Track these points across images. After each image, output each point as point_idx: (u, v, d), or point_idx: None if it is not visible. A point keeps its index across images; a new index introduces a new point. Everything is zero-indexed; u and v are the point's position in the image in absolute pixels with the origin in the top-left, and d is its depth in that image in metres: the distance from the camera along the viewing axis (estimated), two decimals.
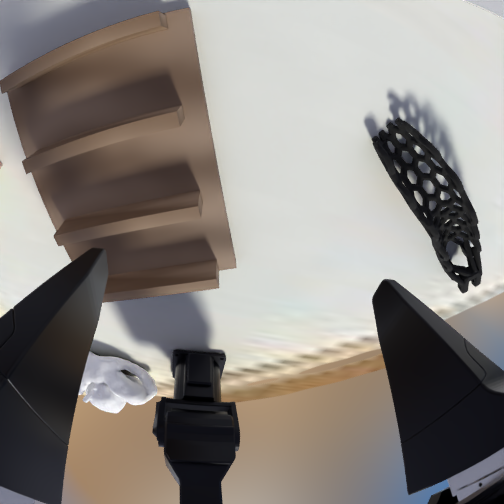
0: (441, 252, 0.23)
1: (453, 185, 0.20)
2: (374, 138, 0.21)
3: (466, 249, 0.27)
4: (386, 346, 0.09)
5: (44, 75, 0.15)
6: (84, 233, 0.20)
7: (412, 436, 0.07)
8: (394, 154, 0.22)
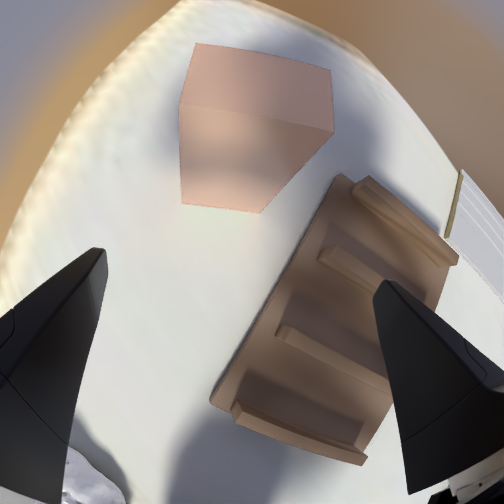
0: None
1: None
2: None
3: None
4: (386, 346, 0.09)
5: (370, 211, 0.25)
6: (325, 352, 0.20)
7: (412, 436, 0.07)
8: None
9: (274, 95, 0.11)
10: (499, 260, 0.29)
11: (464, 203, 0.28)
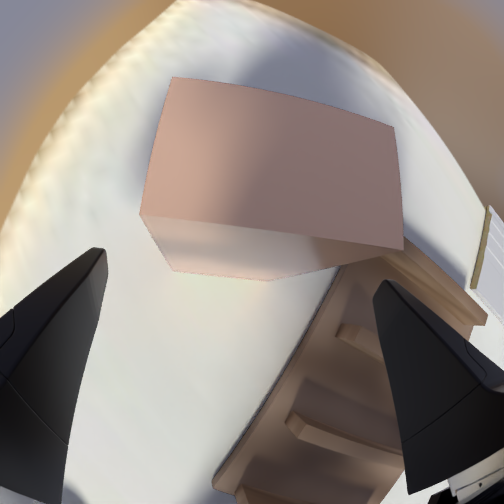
0: None
1: None
2: None
3: None
4: (386, 346, 0.09)
5: (398, 271, 0.20)
6: (340, 443, 0.15)
7: (412, 436, 0.07)
8: None
9: (312, 185, 0.06)
10: None
11: (492, 246, 0.24)
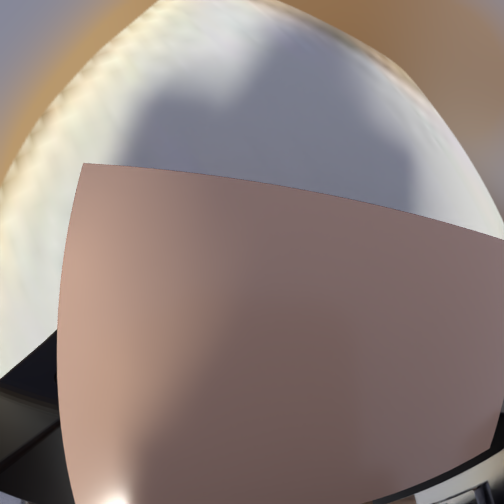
0: None
1: None
2: None
3: None
4: None
5: None
6: None
7: None
8: None
9: (400, 423, 0.03)
10: None
11: None
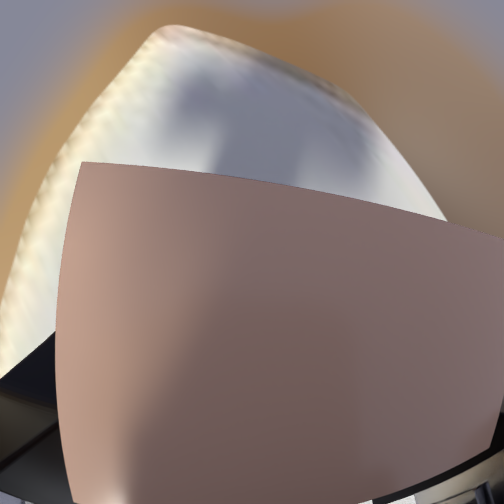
0: None
1: None
2: None
3: None
4: None
5: None
6: None
7: None
8: None
9: (400, 421, 0.03)
10: None
11: None
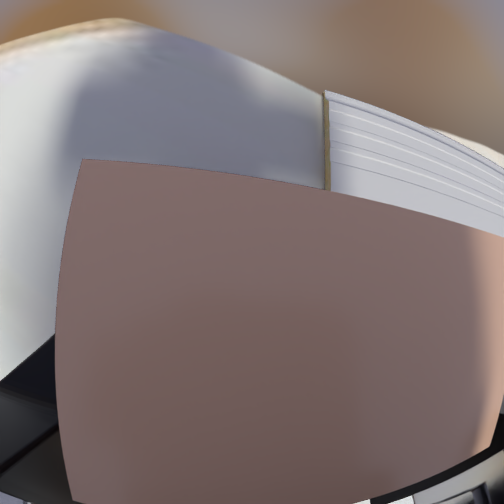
0: None
1: None
2: None
3: None
4: None
5: None
6: None
7: None
8: None
9: (400, 419, 0.03)
10: (440, 193, 0.21)
11: (344, 142, 0.20)
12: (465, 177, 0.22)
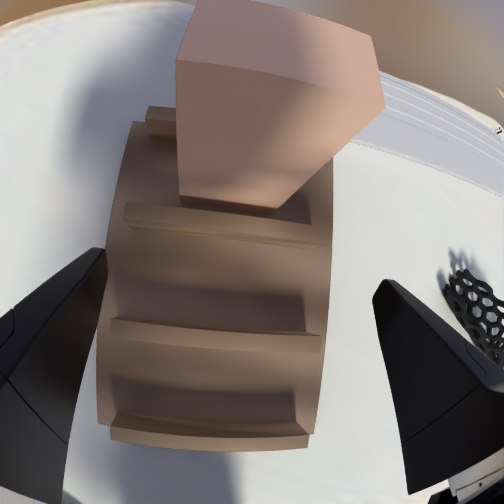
0: None
1: (502, 315, 0.21)
2: (444, 289, 0.23)
3: None
4: (386, 346, 0.09)
5: None
6: (163, 332, 0.15)
7: (412, 436, 0.07)
8: (457, 304, 0.23)
9: (306, 55, 0.07)
10: (411, 124, 0.25)
11: None
12: (435, 117, 0.26)
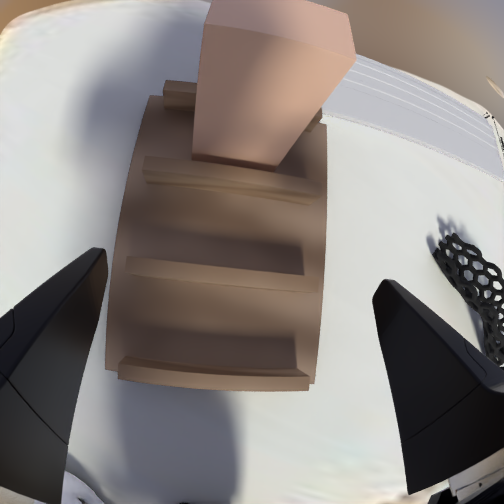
0: (499, 335, 0.21)
1: (493, 278, 0.23)
2: (435, 252, 0.25)
3: None
4: (386, 346, 0.09)
5: (194, 112, 0.22)
6: (174, 268, 0.17)
7: (412, 436, 0.07)
8: (448, 267, 0.26)
9: (297, 25, 0.09)
10: (399, 105, 0.27)
11: None
12: (422, 100, 0.28)
